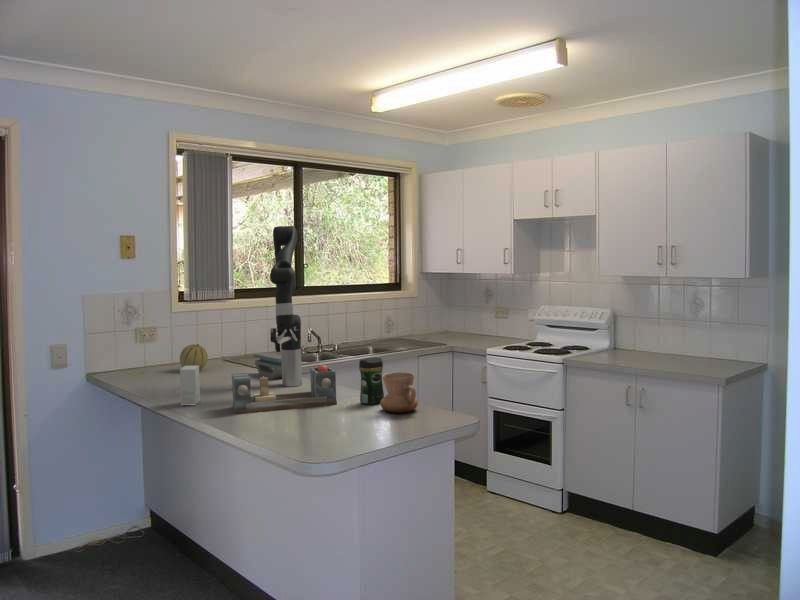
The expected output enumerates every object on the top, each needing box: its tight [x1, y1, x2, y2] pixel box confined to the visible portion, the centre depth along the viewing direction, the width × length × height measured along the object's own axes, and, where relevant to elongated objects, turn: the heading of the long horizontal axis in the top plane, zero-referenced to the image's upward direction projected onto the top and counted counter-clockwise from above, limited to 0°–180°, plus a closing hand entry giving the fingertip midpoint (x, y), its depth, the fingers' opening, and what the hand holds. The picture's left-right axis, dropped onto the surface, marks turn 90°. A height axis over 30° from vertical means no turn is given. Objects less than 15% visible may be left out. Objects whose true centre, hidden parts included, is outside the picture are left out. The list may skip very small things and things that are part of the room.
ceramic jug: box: [379, 371, 419, 414], centre depth 245 cm, size 18×14×14 cm
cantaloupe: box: [179, 343, 209, 371], centre depth 346 cm, size 15×15×15 cm
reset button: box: [317, 364, 328, 372], centre depth 264 cm, size 4×4×4 cm
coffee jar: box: [358, 357, 385, 405], centre depth 260 cm, size 10×8×19 cm
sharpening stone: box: [253, 351, 282, 380], centre depth 325 cm, size 25×8×11 cm, turn 41°
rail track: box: [231, 366, 338, 414], centre depth 259 cm, size 14×40×14 cm, turn 109°
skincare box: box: [179, 365, 201, 405], centre depth 265 cm, size 8×7×16 cm
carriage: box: [252, 376, 276, 403], centre depth 256 cm, size 8×8×10 cm
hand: (286, 350), depth 277 cm, fingers open, 8 cm apart
